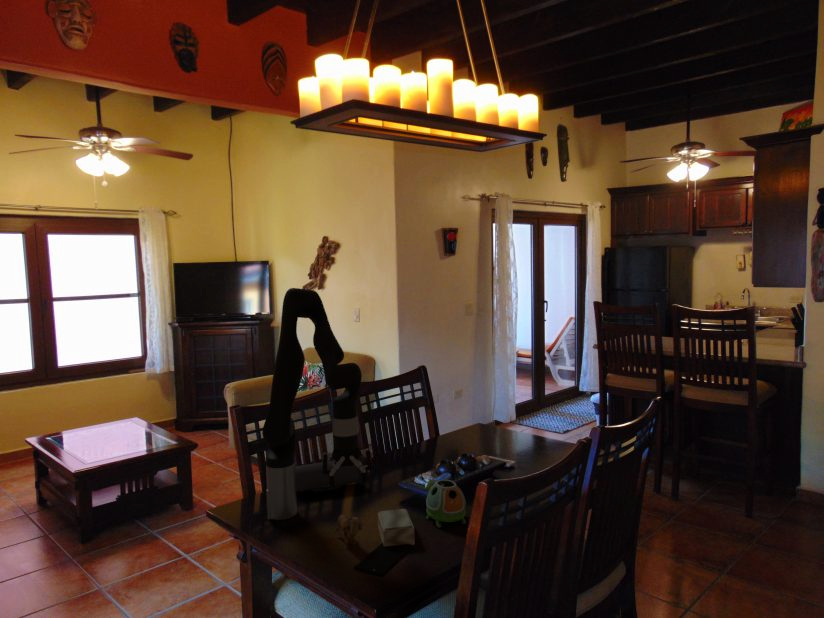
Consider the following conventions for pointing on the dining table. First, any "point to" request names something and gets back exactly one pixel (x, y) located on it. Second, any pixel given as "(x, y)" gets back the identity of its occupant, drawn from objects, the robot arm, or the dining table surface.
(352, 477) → the bluetooth speaker
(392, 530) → the plinth
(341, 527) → the lion figurine
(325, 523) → the dining table surface
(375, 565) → the cell phone
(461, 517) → the turtle holder
